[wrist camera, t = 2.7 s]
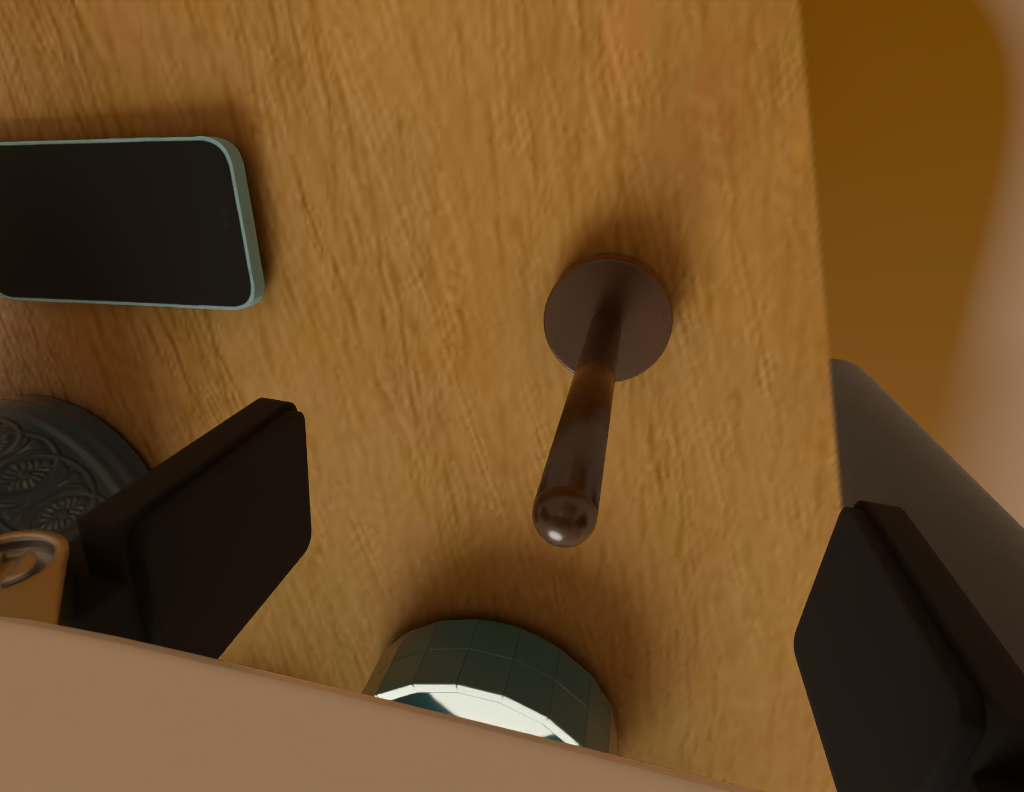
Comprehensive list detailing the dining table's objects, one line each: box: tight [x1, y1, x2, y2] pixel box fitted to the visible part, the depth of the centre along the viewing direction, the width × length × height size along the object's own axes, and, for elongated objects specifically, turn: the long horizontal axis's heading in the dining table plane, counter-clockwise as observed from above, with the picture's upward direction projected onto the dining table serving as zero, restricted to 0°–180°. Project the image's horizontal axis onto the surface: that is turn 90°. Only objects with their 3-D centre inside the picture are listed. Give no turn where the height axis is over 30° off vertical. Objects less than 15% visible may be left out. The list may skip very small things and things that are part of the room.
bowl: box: [362, 619, 618, 755], centre depth 32 cm, size 14×14×5 cm
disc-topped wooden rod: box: [532, 253, 672, 548], centre depth 17 cm, size 5×5×16 cm
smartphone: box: [0, 136, 265, 310], centre depth 27 cm, size 7×1×15 cm
